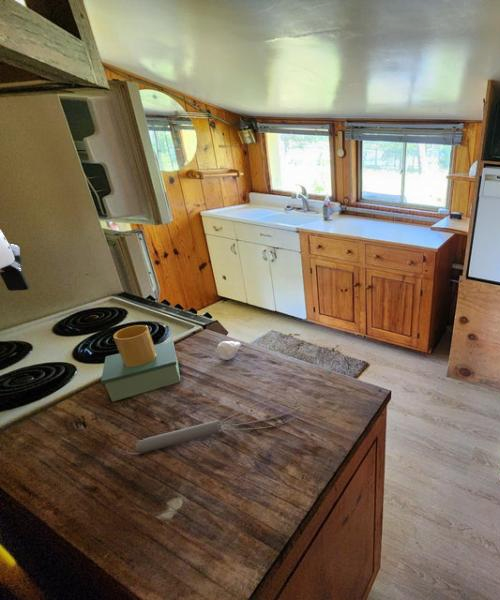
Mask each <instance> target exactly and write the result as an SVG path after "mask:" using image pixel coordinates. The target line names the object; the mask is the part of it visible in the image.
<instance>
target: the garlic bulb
mask: <svg viewBox="0 0 500 600" xmlns="http://www.w3.org/2000/svg"><path fill="white" fill-rule="evenodd" d="M241 346H242V344H241V343H240V342H239V341H233V340H224V341H221V342H219V343H218V345H217V347H216V352H217V354H218V356H219V357H220V359H221V358H222V359H223V360H226V361H229V360H232V359H233V358H234V357H235V356H236V354H237V352H238V351H239V349H240V347H241Z"/></svg>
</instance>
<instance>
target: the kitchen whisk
mask: <svg viewBox="0 0 500 600" xmlns="http://www.w3.org/2000/svg"><path fill="white" fill-rule="evenodd" d="M286 397H287V398H292V399H294V400H295V401H288V402H287V401H286V402H285V401H284V402H281V403H276V404H272V405H268V406H265V407H262V408H257V409H254V410H252V411H248V412H247V413H244V414H241V413H242V412H243V411H246V410H248V409H249V410H250V409H251V408H252V407H255V406H257V405H260V404H263V403H265V402H269V401H271V400H276V399H279V398H286ZM291 404H297V408H295V409H293V410H290V411H288V412H285V413H281V414H279V415H275V416H271V417H267V418H262V419H259V420H258V419H257V420H253V421H248V422H242V423H237V424H229V425H225V424H227V423H230V422H233V421H236V420H239V419H242V418H244V417H247V416H251V415H254V414H257V413H260V412H263V411H267V410H269V409H273V408H278V407H281V406H286V405H291ZM296 411H297V412H296ZM294 412H296V414H295V415H294V416H293V417H292V418H291V419H289V420H288V421H285V422H282V423H278V424H274V425H268V426H261V427H260V429H266V428H271V427H276V426H280V425H285V424H286V423H289V422H290V421H292V420H294V419H295V418H296V417H297V416H298V414H299V413H300V412H301V403H300V401H299V399H297V398H296V397H295V396H290V395H280V396H279V395H277V396H273V397H270V398H267V399H264V400H262V401H259V402H257V403H254V404H251V405H249V406H247V407H246V408H243V409H241V410H239V411H237V412H235V413H234V414H231V415H229V416H228V417H226V418H224V419H222V420H220V419H217V420H213V421H208V422H205V423H200V424H197V425H193V426H189V427H184V428H181V429H177V430H173V431H169V432H165V433H162V434H157V435H154V436H149V437H145V438H143V439H142V440H140V439H137V440H135V441H133V442H130V443H129V444H128V445H126V448H125V452H126V453H127V454H129V455H141V454H143V453H148V452H152V451H157V450H159V449H162V448H166V447H170V446H174V445H178V444H181V443H185V442H189V441H194V440H197V439H201V438H204V437H209V436H212V435H215V434H216V435H217V434H220V433H221V431H223V430H224V431H240V430H241V431H242V430H243V431H244V430H246V428H227V427H234V426H235V427H236V426H241V425H247V424H253V423H254V424H255V423H259V422H264V421H269V420H273V419H279V418H281V417H284V416H287V415H290V414H292V413H294ZM238 414H241V415H239V416H236V415H238ZM234 416H235V417H234ZM232 417H233V418H232ZM230 418H231V419H230ZM228 419H229V420H228ZM223 425H224V426H223ZM248 430H259V427H252V428H248ZM134 443H136V445H135V449H136V453H135V452H134V453H133V452H129V451H128V447H130V445H132V444H134Z"/></svg>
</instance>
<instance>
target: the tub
mask: <svg viewBox="0 0 500 600" xmlns="http://www.w3.org/2000/svg"><path fill="white" fill-rule="evenodd" d="M154 347H155V350H156V353H157V356H156V358H155V359H154V360H152V361H151V362H149V363H147V364H144V365H141V366H136V367H128V366H125V365H124V363H123V361H122V358H121V356H120V353H119V352H118V353H115V354H111V355H106V356H105V358H104V363H103V368H102V374H101V380H100V382H101V385H104V387H105V389H106V391H107V393H108V395H109V398H110V401H111V402H116V401H120V400H123V399H126V398H130V397H133V396H137V395H140V394H143V393H146V392H151V391H153V390H157V389H160V388H165V387H166V386H167V387H168V386H171V385H175V384H177V383H181V376H180V368H179V361H178V358H177V354H176V349H175V342H174V340H171V341H170V340H169V341H167V342H162V343H157V344H154Z"/></svg>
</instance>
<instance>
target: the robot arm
mask: <svg viewBox="0 0 500 600" xmlns="http://www.w3.org/2000/svg"><path fill="white" fill-rule="evenodd" d="M21 264H22V257H21V248H20V246H19V245H16V244H12V243H9V242H8V240H7V238H6V236H5V234H4V232H3V231H2V230H1V229H0V277H1V279H2V281H3V282H4V283H3V284H4V285H5V287H6V289H7V291H10V292H11V291H12V292H13V291H14V292H15V291H27V290H29V289H30V286H29V283H28V282H27V279H26V277H25V275H24V274H23V268H24V267H23V266H22V265H21Z"/></svg>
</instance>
